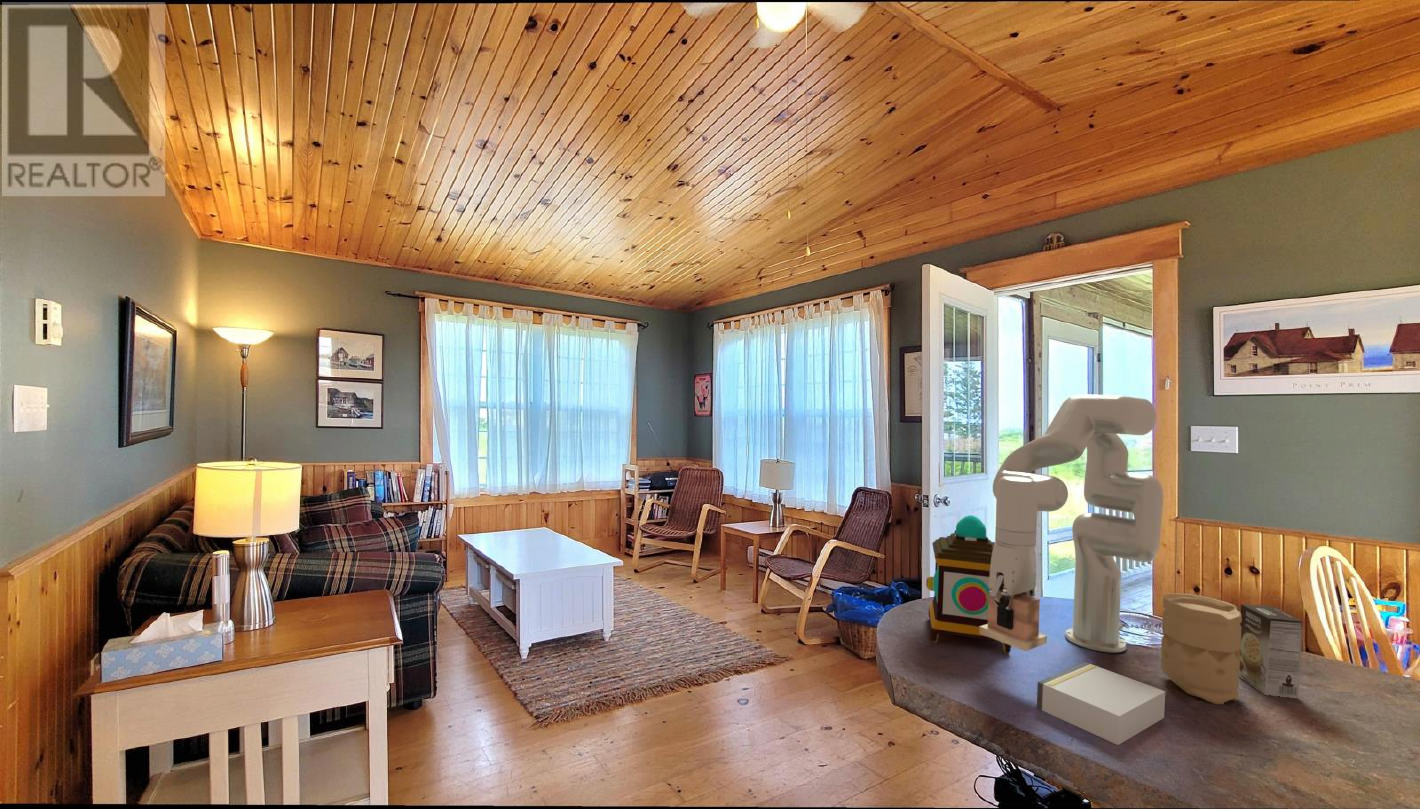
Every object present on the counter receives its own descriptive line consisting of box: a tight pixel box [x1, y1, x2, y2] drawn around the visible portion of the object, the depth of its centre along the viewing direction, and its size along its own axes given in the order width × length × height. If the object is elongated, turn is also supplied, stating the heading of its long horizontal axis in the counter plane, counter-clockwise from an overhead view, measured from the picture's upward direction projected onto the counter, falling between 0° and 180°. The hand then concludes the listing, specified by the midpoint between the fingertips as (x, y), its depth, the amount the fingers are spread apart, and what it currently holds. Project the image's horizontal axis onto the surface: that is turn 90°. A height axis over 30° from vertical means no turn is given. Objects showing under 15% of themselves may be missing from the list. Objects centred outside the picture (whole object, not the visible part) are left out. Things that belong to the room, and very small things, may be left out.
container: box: [1160, 592, 1242, 705], centre depth 124 cm, size 13×13×18 cm
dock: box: [1036, 661, 1166, 746], centre depth 114 cm, size 18×14×5 cm
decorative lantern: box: [925, 514, 1012, 655], centre depth 149 cm, size 20×20×30 cm
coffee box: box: [1239, 603, 1304, 699], centre depth 127 cm, size 9×6×16 cm
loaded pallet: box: [979, 589, 1048, 652], centre depth 125 cm, size 8×10×9 cm
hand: (1012, 623), depth 125 cm, fingers closed on loaded pallet, 5 cm apart
